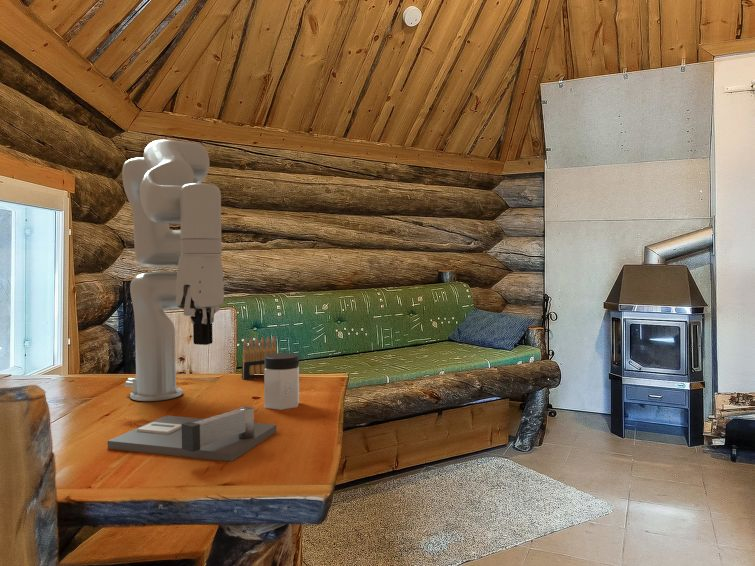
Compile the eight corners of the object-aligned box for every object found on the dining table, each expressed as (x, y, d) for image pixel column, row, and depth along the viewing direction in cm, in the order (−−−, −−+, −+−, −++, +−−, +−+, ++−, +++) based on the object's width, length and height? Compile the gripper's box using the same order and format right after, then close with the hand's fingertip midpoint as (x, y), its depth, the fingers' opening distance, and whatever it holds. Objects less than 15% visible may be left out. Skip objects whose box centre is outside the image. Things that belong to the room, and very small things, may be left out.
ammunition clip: (243, 380, 173) (243, 338, 172) (241, 378, 174) (241, 337, 174) (278, 375, 179) (277, 335, 178) (275, 374, 180) (275, 335, 180)
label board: (107, 448, 113) (107, 437, 112) (166, 422, 130) (166, 412, 130) (231, 461, 105) (231, 449, 105) (276, 432, 123) (276, 421, 123)
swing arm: (193, 457, 102) (192, 426, 102) (181, 454, 104) (181, 423, 104) (257, 434, 115) (257, 407, 115) (246, 432, 117) (245, 404, 116)
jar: (271, 411, 138) (271, 360, 138) (258, 404, 145) (257, 355, 144) (306, 406, 143) (306, 356, 143) (291, 399, 150) (291, 351, 149)
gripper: (205, 249, 123) (207, 337, 124) (160, 248, 109) (162, 349, 110) (238, 249, 121) (239, 339, 122) (196, 248, 107) (198, 351, 108)
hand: (203, 343), depth 116 cm, fingers closed
